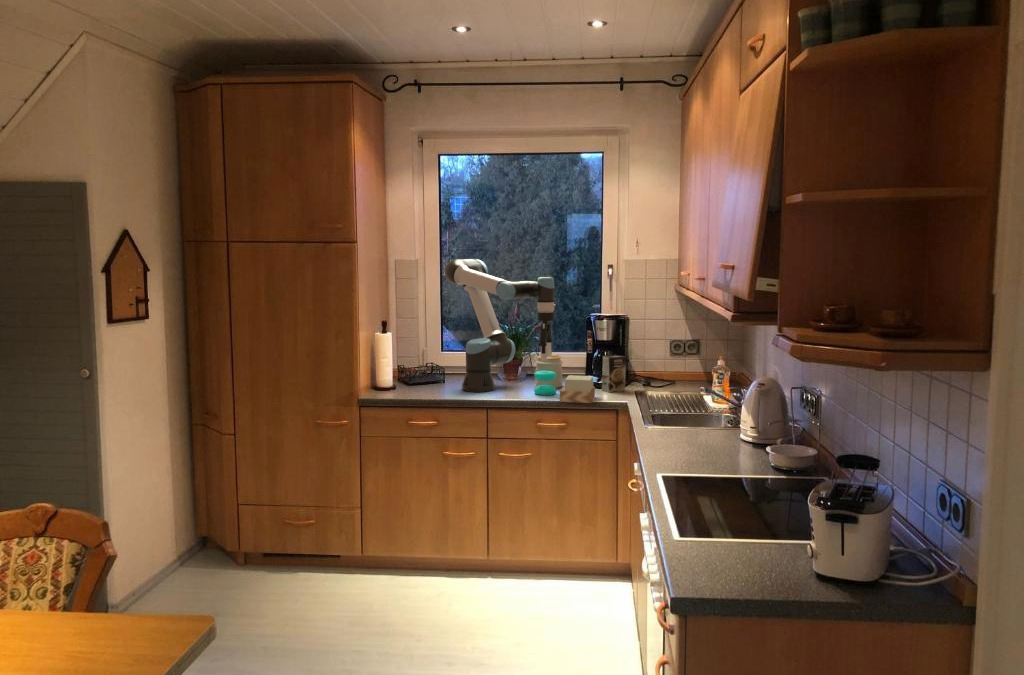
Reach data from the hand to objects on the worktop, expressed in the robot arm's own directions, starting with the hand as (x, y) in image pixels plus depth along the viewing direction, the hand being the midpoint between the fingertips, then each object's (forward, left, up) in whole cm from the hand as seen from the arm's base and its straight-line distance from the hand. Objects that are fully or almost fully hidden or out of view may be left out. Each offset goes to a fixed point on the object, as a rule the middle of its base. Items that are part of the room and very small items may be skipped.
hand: (546, 358), depth 348 cm
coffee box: (+30, +14, -16) cm, 37 cm away
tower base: (+15, -10, -17) cm, 25 cm away
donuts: (0, 0, -16) cm, 16 cm away
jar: (-1, +19, -16) cm, 25 cm away
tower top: (+16, -10, -12) cm, 22 cm away
